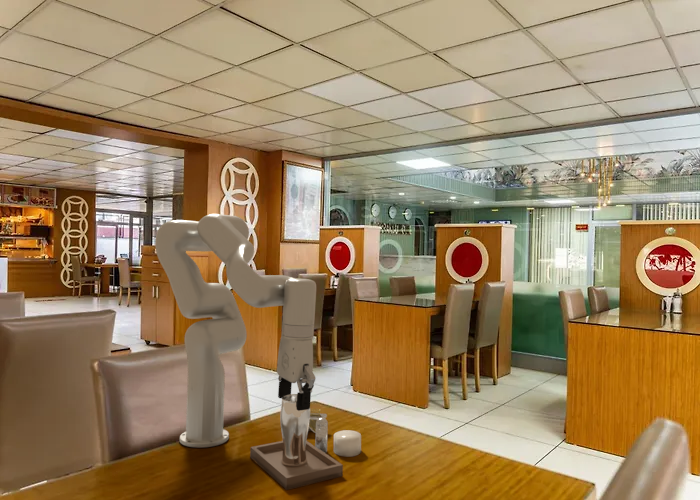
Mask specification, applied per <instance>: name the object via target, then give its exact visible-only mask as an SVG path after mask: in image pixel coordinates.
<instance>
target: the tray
mask: <svg viewBox="0 0 700 500" xmlns="http://www.w3.org/2000/svg"><path fill="white" fill-rule="evenodd" d="M305 450H306V457H307V462H306V463H305V464H304V465H301V466H296V467H291V466H286V465H283V464H282V463H281V458H282V453H283V440H281V441H276V442H271V443H264V444H260V445H254V446H251V447H250V455H249V458H250V459H251V460H252V461H253V462H255V463H256V464H257V465H258V466H259V467H260V468H261V469H263V471H265V472H266V473H267V474H268V475H269V476H270V477H271V478H272V479H274V480H275V481H276V482H277V483H278V484H279V485H280V486H281V487H282V488H283V489H284V490H285V491H288V490H292V489H297V488H301V487H304V486H308V485H312V484H316V483H320V482H324V481H329V480H333V479H336V478H340V477H343V472H344V470H343V469H344V465H343V464H342V463H341V462H339V461H338V460H336V459H335V458H333V457H331V456H330V455H329V454H327V452H326V453H324V452H323V451H321V450H320V449H318V448H317V447H315V444H314V445H313V444H312V443H311V442H309V441H308V440H306V448H305Z"/></svg>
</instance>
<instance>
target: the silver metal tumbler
mask: <svg viewBox="0 0 700 500" xmlns="http://www.w3.org/2000/svg"><path fill="white" fill-rule="evenodd" d="M296 408H297V393H291V394H289V395H285V396H283V397H282V398H281V405H280V414H279V415H280V417H279V418H280V428H281V429H280V430H281V437H282V441H283V453H282V458H281V463H282V464H283V465H286V466H291V467H296V466H301V465H304V464H305V463H306V462H307V457H306V450H305V448H306V441H307V438H308V434H309V431H308V429H309V423H310V413H311V408H310V409H307V410H300V411H298V410H297V409H296Z"/></svg>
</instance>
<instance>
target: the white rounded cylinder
mask: <svg viewBox="0 0 700 500" xmlns="http://www.w3.org/2000/svg"><path fill="white" fill-rule="evenodd" d="M333 453H334V454H335V455H337V456H340V457H347V458H349V457H356V456H358V455H359V454H361V453H362V435H361V433H360V432H359V431H356V430H352V429H351V430H349V429H348V430H346V429H343V430H339V431H337V432H335V433H334V434H333Z"/></svg>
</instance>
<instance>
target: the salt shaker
mask: <svg viewBox="0 0 700 500" xmlns="http://www.w3.org/2000/svg"><path fill="white" fill-rule="evenodd" d="M328 425H329V423H328V420H327V419H326V418H319V419H318V420H317V421H316V433H315V441H314V442H315V443H314V446H315V447H317V448H318V449H320V450H321V451H323V452H324V453H326V454H327V453H328V431H329V430H328Z"/></svg>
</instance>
